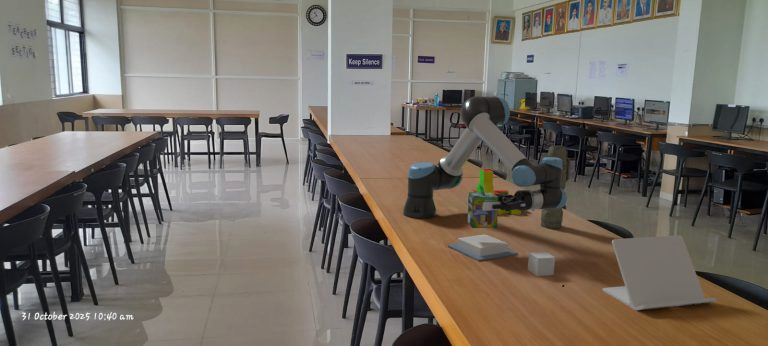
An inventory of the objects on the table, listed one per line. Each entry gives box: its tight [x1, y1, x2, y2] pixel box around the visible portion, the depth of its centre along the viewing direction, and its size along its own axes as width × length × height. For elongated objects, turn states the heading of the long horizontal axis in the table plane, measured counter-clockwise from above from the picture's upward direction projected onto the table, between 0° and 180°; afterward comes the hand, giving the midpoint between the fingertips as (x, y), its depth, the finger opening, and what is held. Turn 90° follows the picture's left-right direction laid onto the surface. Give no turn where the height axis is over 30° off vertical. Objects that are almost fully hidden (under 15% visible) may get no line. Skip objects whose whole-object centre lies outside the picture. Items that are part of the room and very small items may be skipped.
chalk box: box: [466, 185, 498, 229], centre depth 197 cm, size 9×9×15 cm
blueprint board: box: [447, 243, 519, 262], centre depth 200 cm, size 18×18×1 cm
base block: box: [456, 233, 509, 256], centre depth 200 cm, size 13×13×3 cm
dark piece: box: [540, 144, 572, 230], centre depth 234 cm, size 9×12×35 cm
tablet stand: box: [602, 234, 718, 311], centre depth 159 cm, size 18×25×17 cm
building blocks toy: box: [470, 168, 522, 216], centre depth 266 cm, size 19×25×18 cm
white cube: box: [527, 251, 556, 277], centre depth 179 cm, size 6×6×6 cm
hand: (475, 203), depth 196 cm, fingers closed on chalk box, 11 cm apart
